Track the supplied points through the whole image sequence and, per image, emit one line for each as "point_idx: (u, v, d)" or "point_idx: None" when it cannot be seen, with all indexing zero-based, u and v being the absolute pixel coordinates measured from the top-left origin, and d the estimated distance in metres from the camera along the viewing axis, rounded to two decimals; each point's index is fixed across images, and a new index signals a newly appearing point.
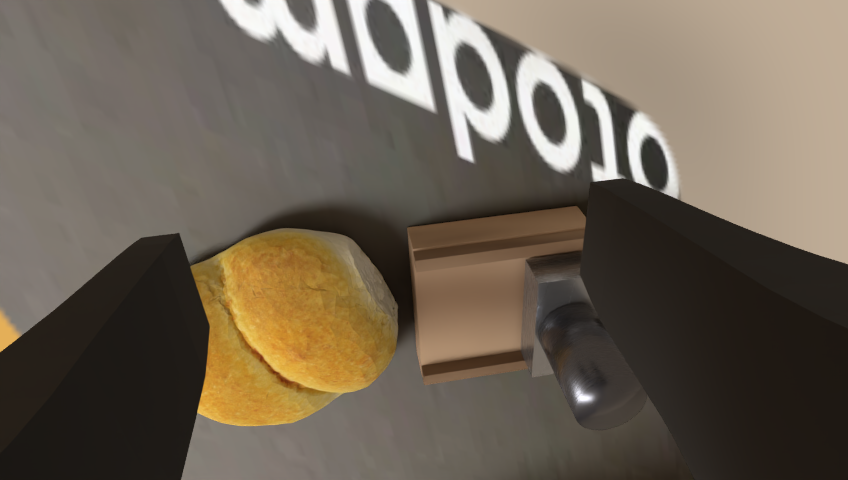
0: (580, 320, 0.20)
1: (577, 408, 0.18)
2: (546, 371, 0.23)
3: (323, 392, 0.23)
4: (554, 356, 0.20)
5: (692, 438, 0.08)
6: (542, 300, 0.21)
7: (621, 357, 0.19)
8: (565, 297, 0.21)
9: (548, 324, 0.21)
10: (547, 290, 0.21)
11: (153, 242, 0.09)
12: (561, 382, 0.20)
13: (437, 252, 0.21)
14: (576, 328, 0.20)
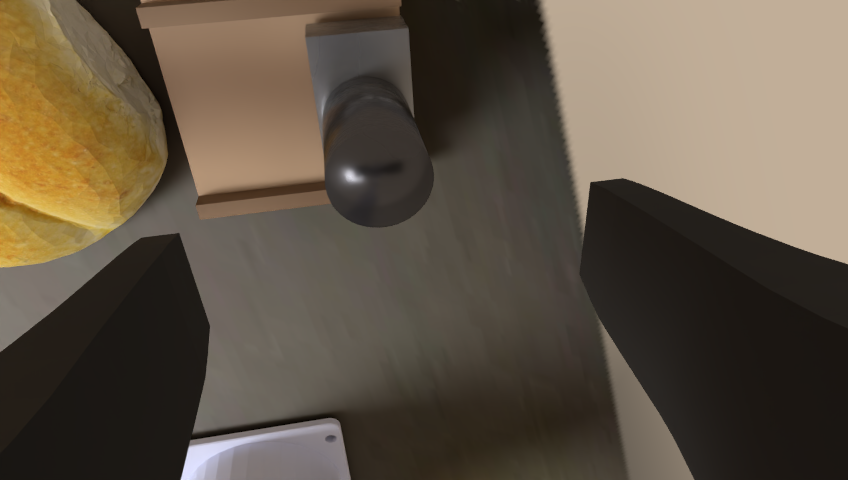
0: (363, 87, 0.14)
1: (328, 183, 0.13)
2: None
3: (57, 220, 0.17)
4: (323, 135, 0.14)
5: (692, 438, 0.08)
6: (317, 68, 0.15)
7: (400, 118, 0.13)
8: (351, 65, 0.15)
9: (327, 103, 0.15)
10: (321, 51, 0.15)
11: (153, 241, 0.09)
12: None
13: (172, 2, 0.15)
14: (353, 95, 0.14)
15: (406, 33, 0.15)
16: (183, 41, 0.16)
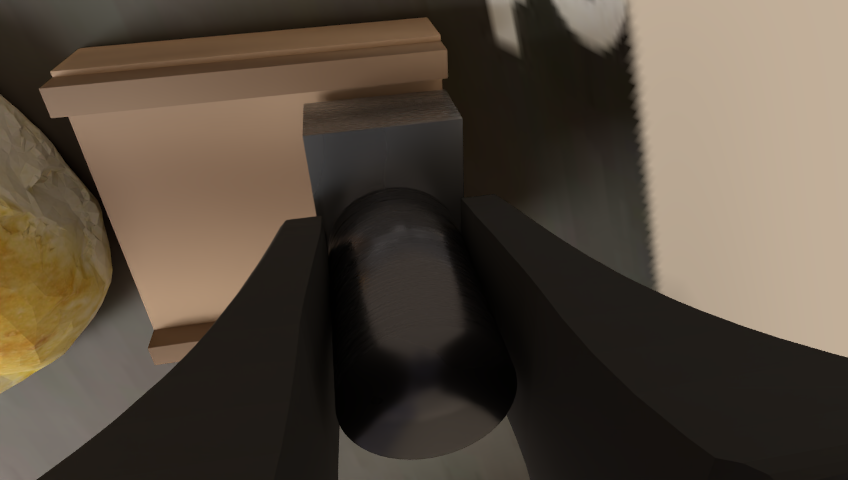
0: (393, 215, 0.09)
1: (340, 408, 0.07)
2: None
3: None
4: (331, 293, 0.09)
5: (534, 466, 0.08)
6: (321, 178, 0.10)
7: (460, 287, 0.08)
8: (372, 173, 0.10)
9: (337, 230, 0.10)
10: (327, 154, 0.10)
11: (303, 223, 0.09)
12: None
13: (99, 76, 0.10)
14: (378, 230, 0.09)
15: (458, 126, 0.10)
16: (120, 129, 0.11)
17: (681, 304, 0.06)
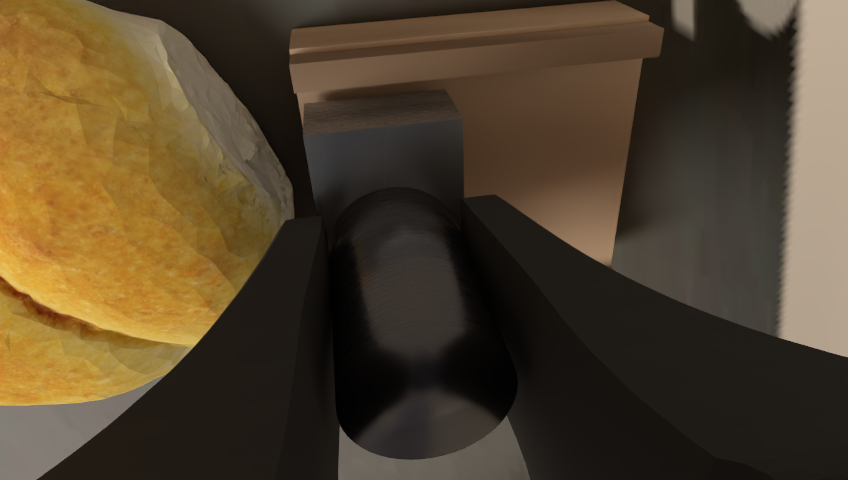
0: (393, 214, 0.09)
1: (341, 408, 0.07)
2: None
3: (152, 343, 0.12)
4: (332, 293, 0.09)
5: (535, 466, 0.08)
6: (322, 178, 0.10)
7: (461, 287, 0.08)
8: (373, 173, 0.10)
9: (337, 231, 0.10)
10: (328, 154, 0.10)
11: (303, 223, 0.09)
12: None
13: (338, 54, 0.10)
14: (379, 230, 0.09)
15: (459, 125, 0.10)
16: None
17: (681, 304, 0.06)
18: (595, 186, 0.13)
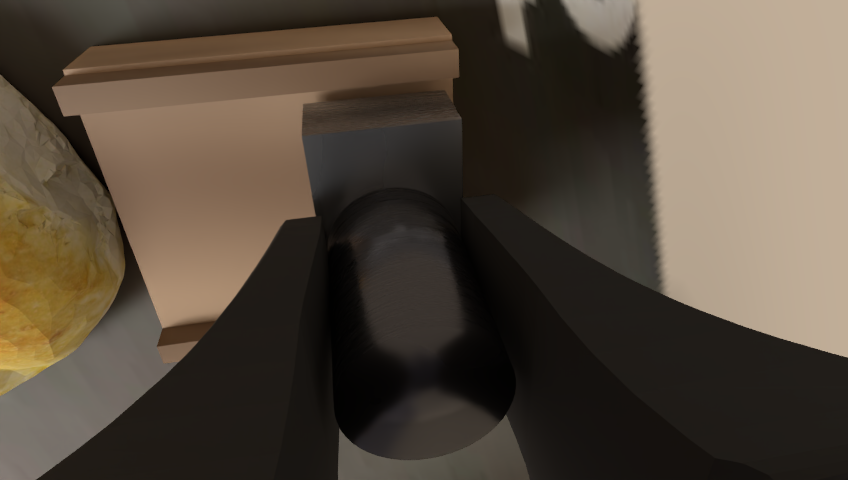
0: (392, 215, 0.09)
1: (339, 409, 0.07)
2: None
3: None
4: (330, 293, 0.09)
5: (534, 466, 0.08)
6: (320, 178, 0.10)
7: (459, 287, 0.08)
8: (371, 173, 0.10)
9: (336, 231, 0.10)
10: (326, 154, 0.10)
11: (303, 223, 0.09)
12: (331, 349, 0.09)
13: (111, 75, 0.10)
14: (377, 231, 0.09)
15: (457, 126, 0.10)
16: (132, 128, 0.11)
17: (681, 304, 0.06)
18: None
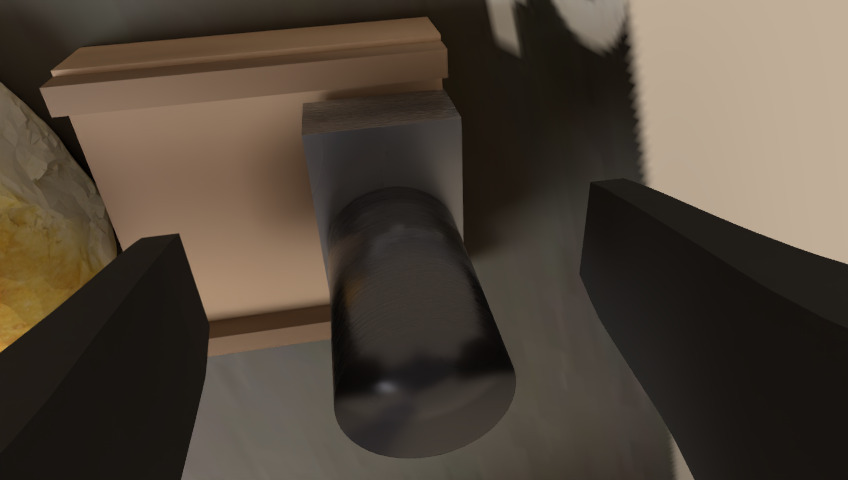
0: (392, 214, 0.09)
1: (339, 407, 0.07)
2: None
3: None
4: (330, 292, 0.09)
5: (692, 438, 0.08)
6: (320, 178, 0.10)
7: (459, 286, 0.08)
8: (371, 173, 0.10)
9: (336, 230, 0.10)
10: (326, 153, 0.10)
11: (153, 241, 0.09)
12: None
13: (99, 76, 0.10)
14: (377, 230, 0.09)
15: (457, 125, 0.10)
16: (121, 129, 0.11)
17: None
18: None
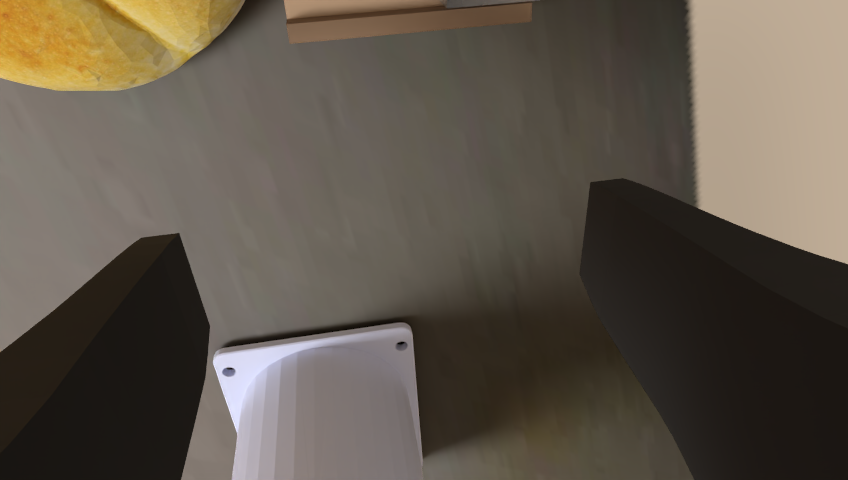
0: None
1: None
2: None
3: (136, 27, 0.15)
4: None
5: (692, 438, 0.08)
6: None
7: None
8: None
9: None
10: None
11: (153, 242, 0.09)
12: None
13: None
14: None
15: None
16: None
17: None
18: None
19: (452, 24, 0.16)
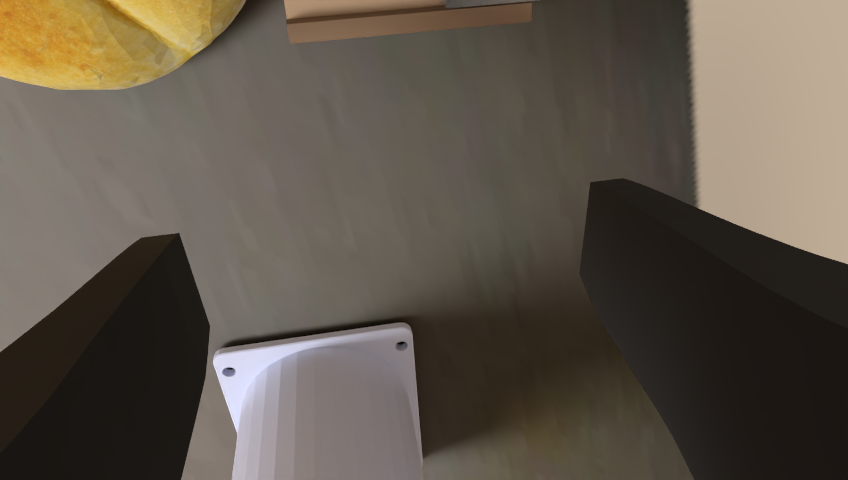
0: None
1: None
2: None
3: (138, 26, 0.15)
4: None
5: (692, 438, 0.08)
6: None
7: None
8: None
9: None
10: None
11: (153, 242, 0.09)
12: None
13: None
14: None
15: None
16: None
17: None
18: None
19: (452, 24, 0.16)
